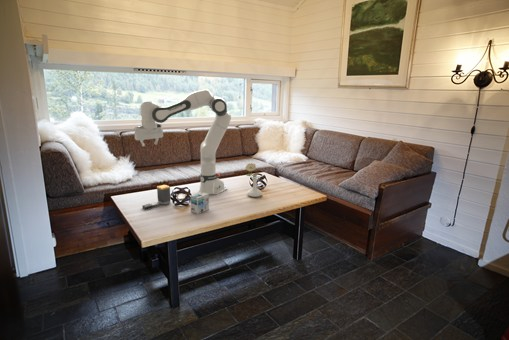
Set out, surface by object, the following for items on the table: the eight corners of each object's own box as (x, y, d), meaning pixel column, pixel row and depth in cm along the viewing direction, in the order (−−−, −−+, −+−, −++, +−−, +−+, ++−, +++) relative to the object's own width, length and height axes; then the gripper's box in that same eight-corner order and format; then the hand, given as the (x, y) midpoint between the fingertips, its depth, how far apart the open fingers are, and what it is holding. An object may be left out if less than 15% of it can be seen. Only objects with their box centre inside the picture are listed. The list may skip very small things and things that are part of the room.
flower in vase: (262, 193, 232) (263, 161, 226) (261, 198, 221) (262, 165, 215) (245, 192, 233) (246, 160, 227) (243, 197, 222) (244, 164, 216)
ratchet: (166, 200, 213) (165, 190, 211) (172, 203, 208) (172, 193, 206) (140, 207, 199) (140, 197, 197) (147, 210, 194) (146, 200, 192)
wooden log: (165, 198, 211) (164, 184, 208) (170, 200, 207) (169, 186, 205) (157, 200, 206) (157, 186, 204) (162, 202, 203) (162, 188, 200)
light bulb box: (198, 214, 191) (197, 198, 188) (190, 211, 195) (189, 195, 192) (209, 209, 200) (209, 193, 197) (202, 206, 203) (201, 191, 200)
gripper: (136, 127, 198) (138, 147, 202) (163, 124, 214) (164, 144, 217) (131, 126, 202) (133, 146, 206) (158, 124, 217) (160, 143, 221)
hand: (149, 145), depth 212 cm, fingers open, 8 cm apart
